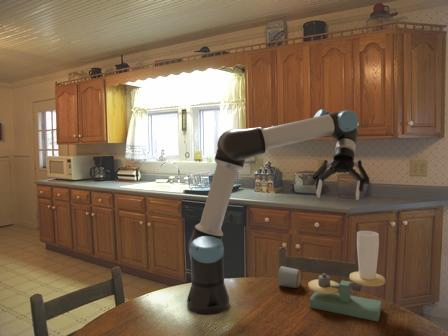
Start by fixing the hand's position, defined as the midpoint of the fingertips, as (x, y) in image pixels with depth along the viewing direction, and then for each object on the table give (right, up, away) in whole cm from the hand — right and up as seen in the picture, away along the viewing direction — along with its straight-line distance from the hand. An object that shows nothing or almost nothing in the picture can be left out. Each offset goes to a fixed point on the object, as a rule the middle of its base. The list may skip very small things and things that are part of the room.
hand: (337, 196), depth 127 cm
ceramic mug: (-14, -37, +16) cm, 43 cm away
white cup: (+7, -26, -9) cm, 29 cm away
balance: (+1, -38, -5) cm, 38 cm away
